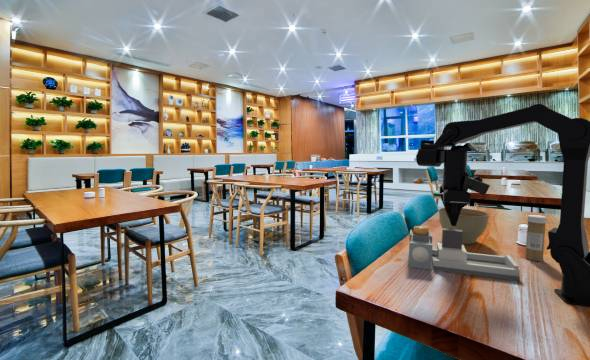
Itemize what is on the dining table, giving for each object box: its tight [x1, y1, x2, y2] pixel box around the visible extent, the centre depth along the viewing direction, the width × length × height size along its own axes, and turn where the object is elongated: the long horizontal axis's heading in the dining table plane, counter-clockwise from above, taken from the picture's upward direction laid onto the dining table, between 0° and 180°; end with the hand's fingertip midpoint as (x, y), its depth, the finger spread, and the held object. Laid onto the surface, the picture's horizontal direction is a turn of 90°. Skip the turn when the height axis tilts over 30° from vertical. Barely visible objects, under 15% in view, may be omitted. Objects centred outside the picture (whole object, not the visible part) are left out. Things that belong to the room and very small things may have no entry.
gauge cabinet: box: [408, 229, 434, 271], centre depth 93 cm, size 12×6×9 cm, turn 159°
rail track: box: [432, 248, 521, 282], centre depth 88 cm, size 12×20×3 cm, turn 69°
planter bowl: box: [438, 207, 490, 245], centre depth 114 cm, size 16×16×11 cm
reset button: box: [413, 225, 429, 236], centre depth 92 cm, size 4×4×2 cm
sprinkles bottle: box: [524, 214, 547, 262], centre depth 95 cm, size 5×5×13 cm
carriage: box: [436, 227, 468, 263], centre depth 90 cm, size 7×7×9 cm
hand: (451, 222), depth 89 cm, fingers open, 9 cm apart
